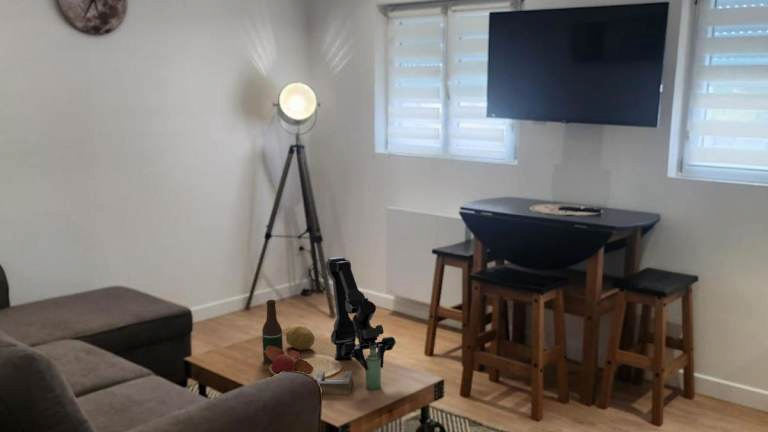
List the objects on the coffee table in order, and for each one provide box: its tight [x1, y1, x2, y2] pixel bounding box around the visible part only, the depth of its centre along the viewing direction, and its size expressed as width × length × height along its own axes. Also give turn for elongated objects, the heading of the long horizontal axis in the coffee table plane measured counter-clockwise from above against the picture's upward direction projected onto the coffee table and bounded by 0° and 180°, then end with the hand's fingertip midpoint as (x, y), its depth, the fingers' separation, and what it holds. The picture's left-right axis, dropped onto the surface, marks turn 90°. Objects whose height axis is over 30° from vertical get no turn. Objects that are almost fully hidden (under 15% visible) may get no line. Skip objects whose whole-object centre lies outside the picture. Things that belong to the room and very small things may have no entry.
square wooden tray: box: [314, 370, 353, 396], centre depth 247 cm, size 12×12×4 cm
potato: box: [285, 325, 315, 351], centre depth 288 cm, size 10×13×9 cm
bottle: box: [365, 344, 382, 391], centre depth 246 cm, size 5×5×15 cm
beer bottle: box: [261, 299, 284, 365], centre depth 273 cm, size 8×8×24 cm
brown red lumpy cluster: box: [266, 345, 314, 375], centre depth 260 cm, size 20×9×15 cm
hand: (374, 368), depth 245 cm, fingers closed on bottle, 5 cm apart
